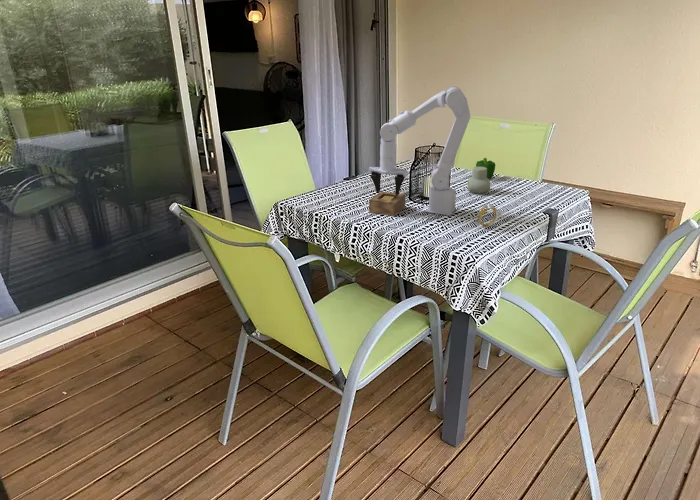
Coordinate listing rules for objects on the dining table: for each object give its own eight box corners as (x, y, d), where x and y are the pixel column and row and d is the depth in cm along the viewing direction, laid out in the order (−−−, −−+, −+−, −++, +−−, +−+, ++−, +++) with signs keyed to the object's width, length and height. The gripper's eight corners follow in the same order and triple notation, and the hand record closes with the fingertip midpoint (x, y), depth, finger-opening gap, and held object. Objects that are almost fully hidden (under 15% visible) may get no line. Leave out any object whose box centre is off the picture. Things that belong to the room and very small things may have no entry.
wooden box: (405, 206, 196) (405, 194, 194) (394, 216, 186) (394, 202, 184) (381, 203, 200) (381, 191, 198) (369, 212, 190) (369, 199, 188)
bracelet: (494, 224, 176) (496, 202, 173) (498, 227, 173) (500, 204, 170) (475, 225, 175) (477, 203, 172) (479, 229, 172) (481, 206, 169)
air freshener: (490, 195, 207) (492, 171, 203) (469, 195, 208) (471, 171, 204) (486, 188, 217) (488, 165, 213) (466, 188, 218) (468, 164, 214)
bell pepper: (482, 175, 236) (484, 154, 232) (497, 178, 230) (499, 156, 226) (470, 178, 231) (472, 156, 227) (485, 182, 225) (487, 159, 221)
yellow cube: (394, 206, 194) (395, 196, 192) (390, 210, 190) (390, 200, 188) (385, 205, 196) (385, 195, 194) (380, 209, 192) (380, 199, 190)
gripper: (365, 157, 185) (365, 194, 190) (403, 161, 179) (402, 198, 184) (372, 153, 191) (373, 189, 196) (409, 156, 185) (408, 193, 190)
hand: (387, 193), depth 191 cm, fingers open, 7 cm apart
